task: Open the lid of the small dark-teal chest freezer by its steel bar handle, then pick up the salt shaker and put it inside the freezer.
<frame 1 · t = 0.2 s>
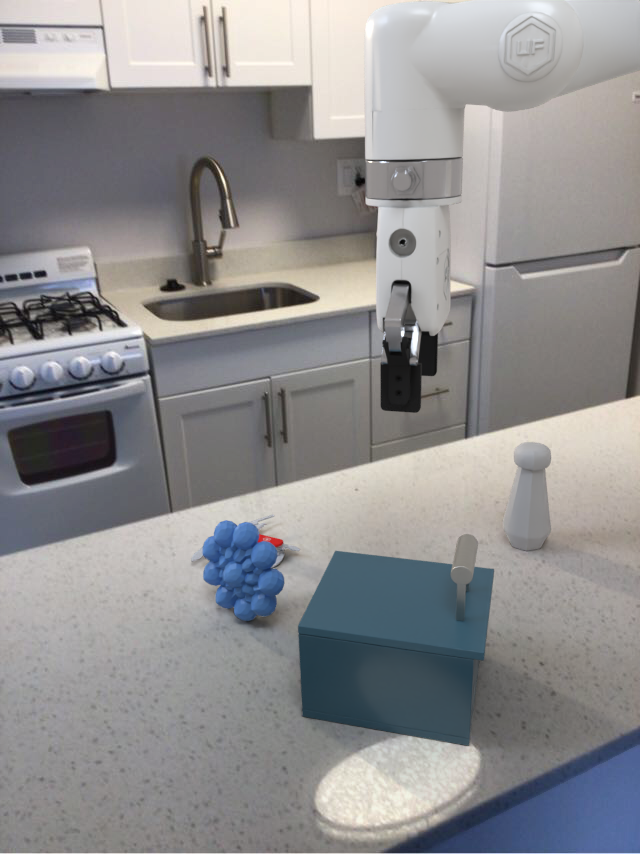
hand: (410, 391, 65), 27 cm above the worktop, tool pointing down, fingers open, 9 cm apart
freezer: (396, 682, 71), on the worktop
grapes: (251, 616, 82), on the worktop
salt shaker: (525, 543, 94), on the worktop
swiss army knife: (258, 552, 94), on the worktop
freezer lid: (401, 573, 66), point 12 cm above the worktop, hinge at 0.0°
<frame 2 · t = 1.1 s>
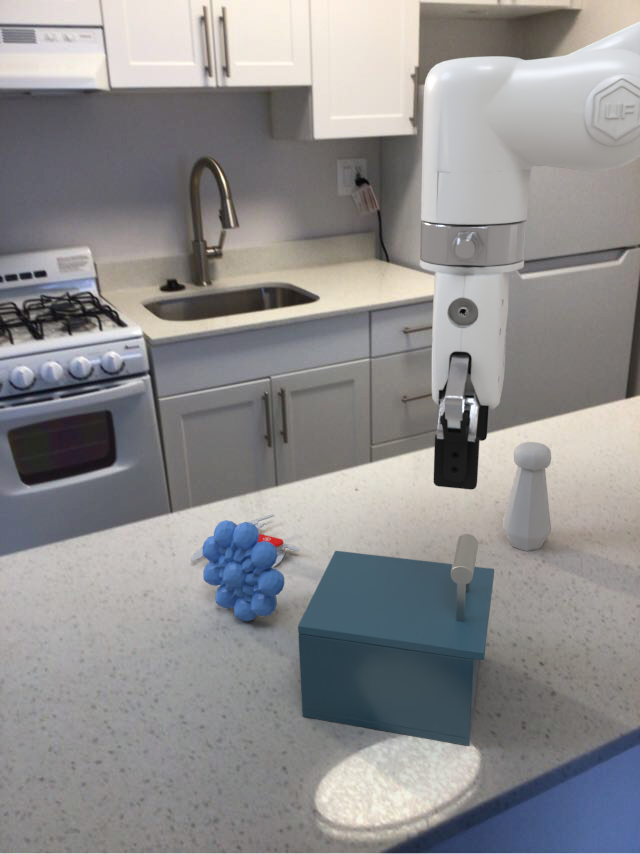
hand: (461, 460, 61), 23 cm above the worktop, tool pointing down, fingers open, 9 cm apart
nothing on the worktop moved.
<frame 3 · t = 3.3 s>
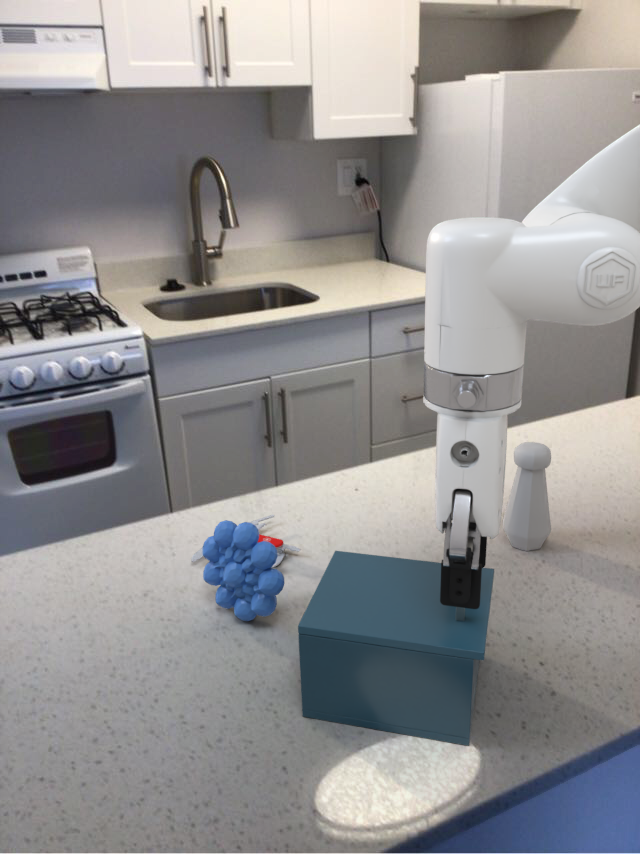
hand: (463, 582, 65), 12 cm above the worktop, tool pointing down, fingers closed on freezer lid, 5 cm apart
freezer lid: (401, 573, 66), point 12 cm above the worktop, hinge at 0.0°, touching gripper
everything else where it was.
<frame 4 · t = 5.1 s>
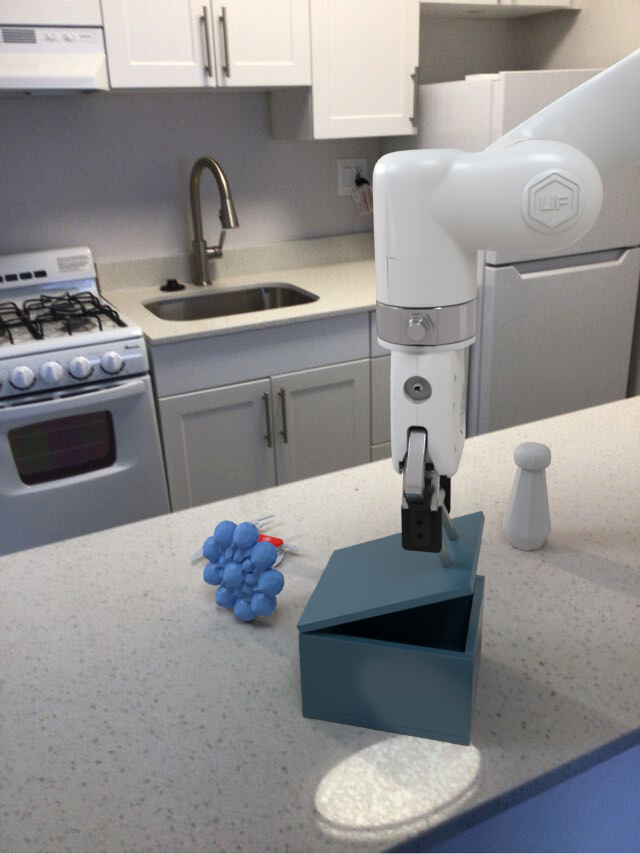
hand: (427, 528, 64), 17 cm above the worktop, tool pointing down, fingers closed on freezer lid, 5 cm apart
freezer lid: (382, 543, 66), point 15 cm above the worktop, hinge at 23.0°, touching gripper
everything else where it was.
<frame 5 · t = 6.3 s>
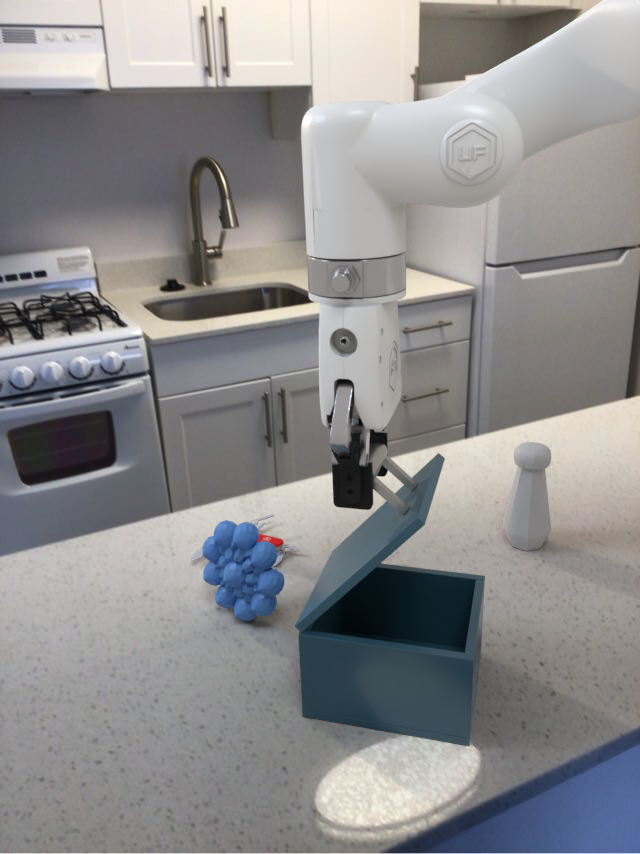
hand: (361, 488, 64), 20 cm above the worktop, tool pointing down, fingers closed on freezer lid, 5 cm apart
freezer lid: (349, 519, 66), point 17 cm above the worktop, hinge at 48.4°, touching gripper
everything else where it was.
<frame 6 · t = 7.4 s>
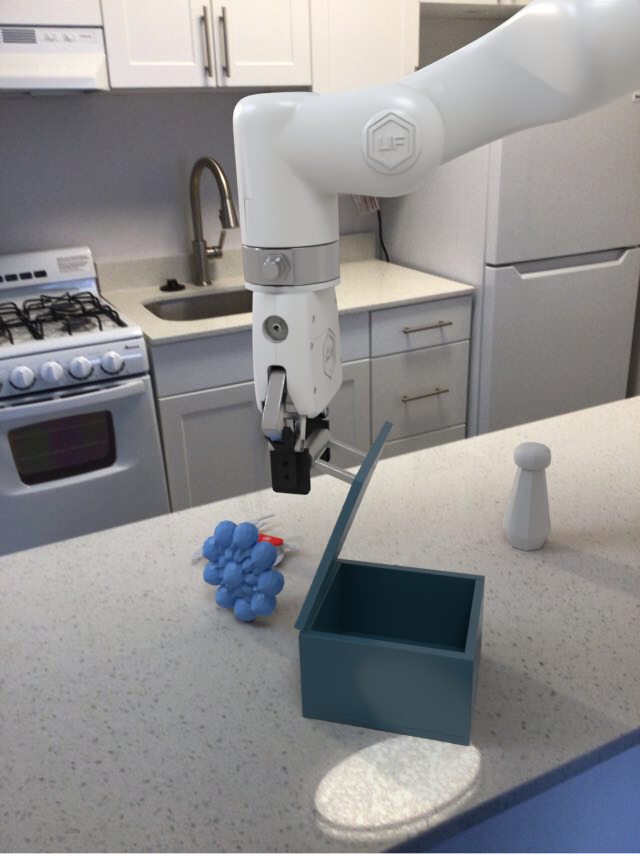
hand: (302, 474, 65), 21 cm above the worktop, tool pointing down, fingers closed on freezer lid, 5 cm apart
freezer lid: (317, 509, 66), point 17 cm above the worktop, hinge at 69.3°, touching gripper
everything else where it was.
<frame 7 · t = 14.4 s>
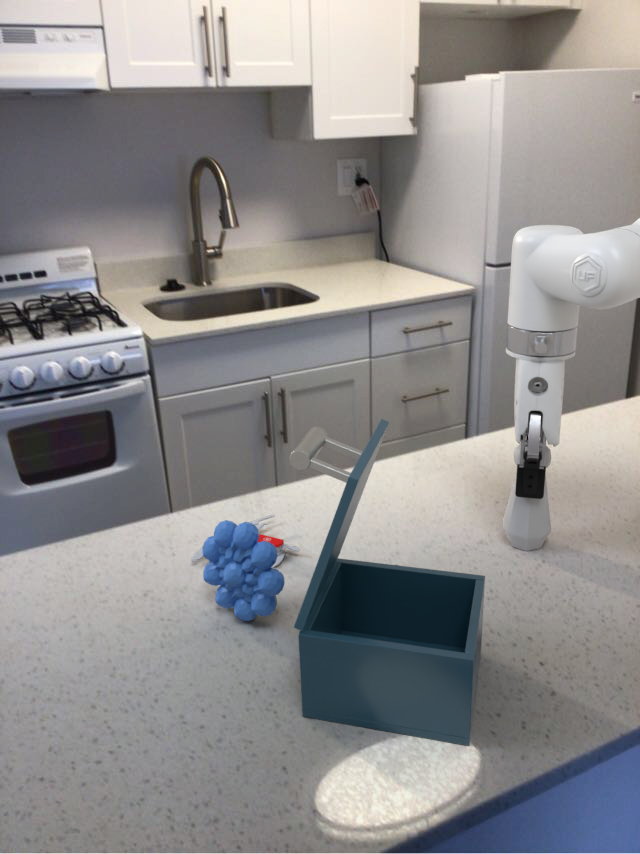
hand: (529, 486, 91), 8 cm above the worktop, tool pointing down, fingers closed on salt shaker, 4 cm apart
salt shaker: (525, 543, 94), on the worktop, touching gripper
freezer lid: (314, 509, 66), point 17 cm above the worktop, hinge at 70.8°
everything else where it was.
when the fingers open (9 cm above the worktop, at t = 23.1 s): salt shaker stays where it is, resting on freezer.
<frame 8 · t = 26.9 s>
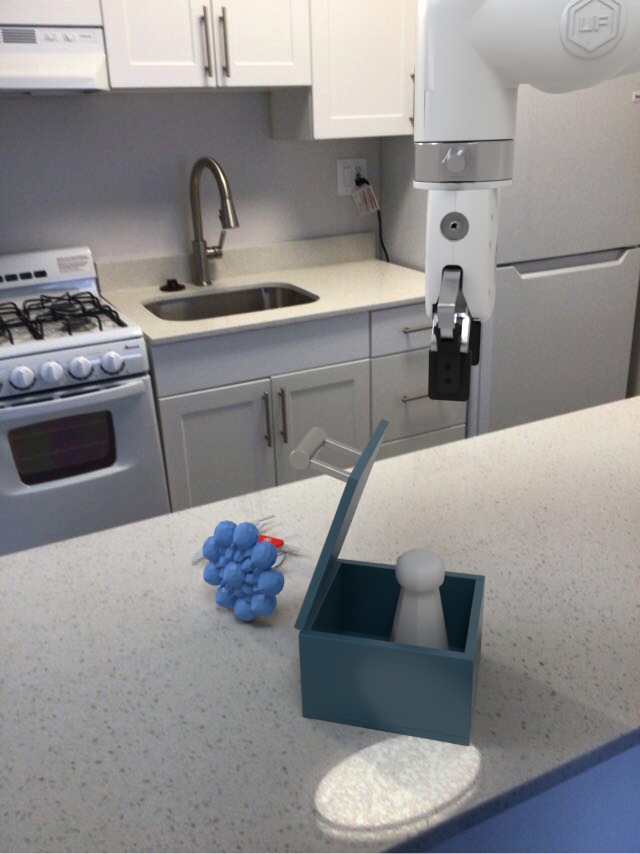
hand: (455, 380, 64), 28 cm above the worktop, tool pointing down, fingers open, 9 cm apart
salt shaker: (417, 680, 70), point 1 cm above the worktop, touching freezer
everything else where it was.
at the end: freezer lid at +71° (first picture: +0°); salt shaker inside the target area in the freezer (2.0 cm from its centre), point 0.6 cm above the freezer's base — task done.
